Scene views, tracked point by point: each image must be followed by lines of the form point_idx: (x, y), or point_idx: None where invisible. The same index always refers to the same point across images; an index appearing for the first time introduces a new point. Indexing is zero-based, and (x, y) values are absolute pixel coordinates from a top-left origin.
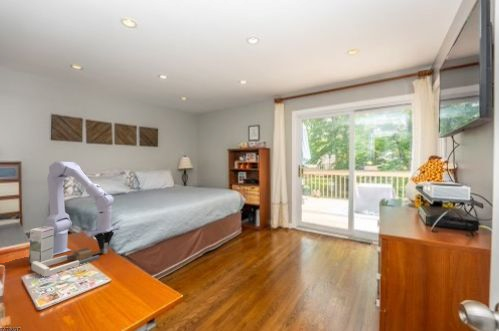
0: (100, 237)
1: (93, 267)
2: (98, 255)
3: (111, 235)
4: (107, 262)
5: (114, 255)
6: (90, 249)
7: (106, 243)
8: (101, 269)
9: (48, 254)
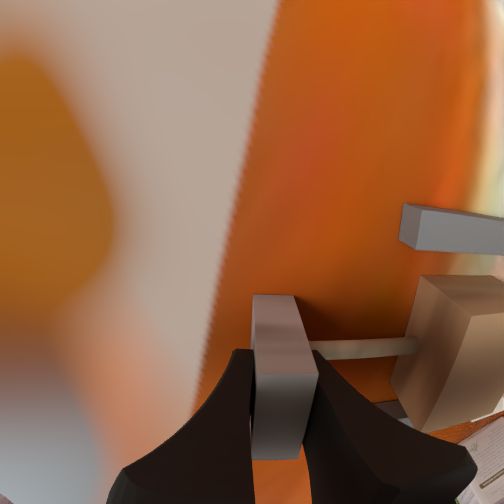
0: (465, 448)
1: (499, 91)
2: (419, 231)
3: (182, 465)
4: (408, 54)
5: (258, 149)
6: (460, 352)
7: (282, 370)
8: (479, 10)
9: (488, 454)
